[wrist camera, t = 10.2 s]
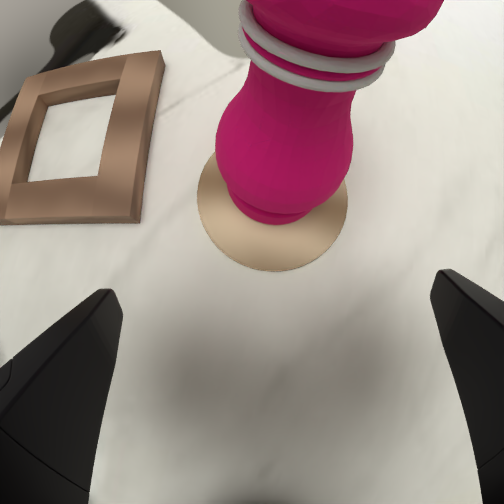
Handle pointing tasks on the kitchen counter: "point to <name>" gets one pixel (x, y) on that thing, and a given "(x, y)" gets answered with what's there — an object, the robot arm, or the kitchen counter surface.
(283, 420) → the kitchen counter surface
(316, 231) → the cork trivet
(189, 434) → the kitchen counter surface
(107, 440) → the kitchen counter surface
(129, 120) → the holder ring
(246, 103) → the pepper mill
